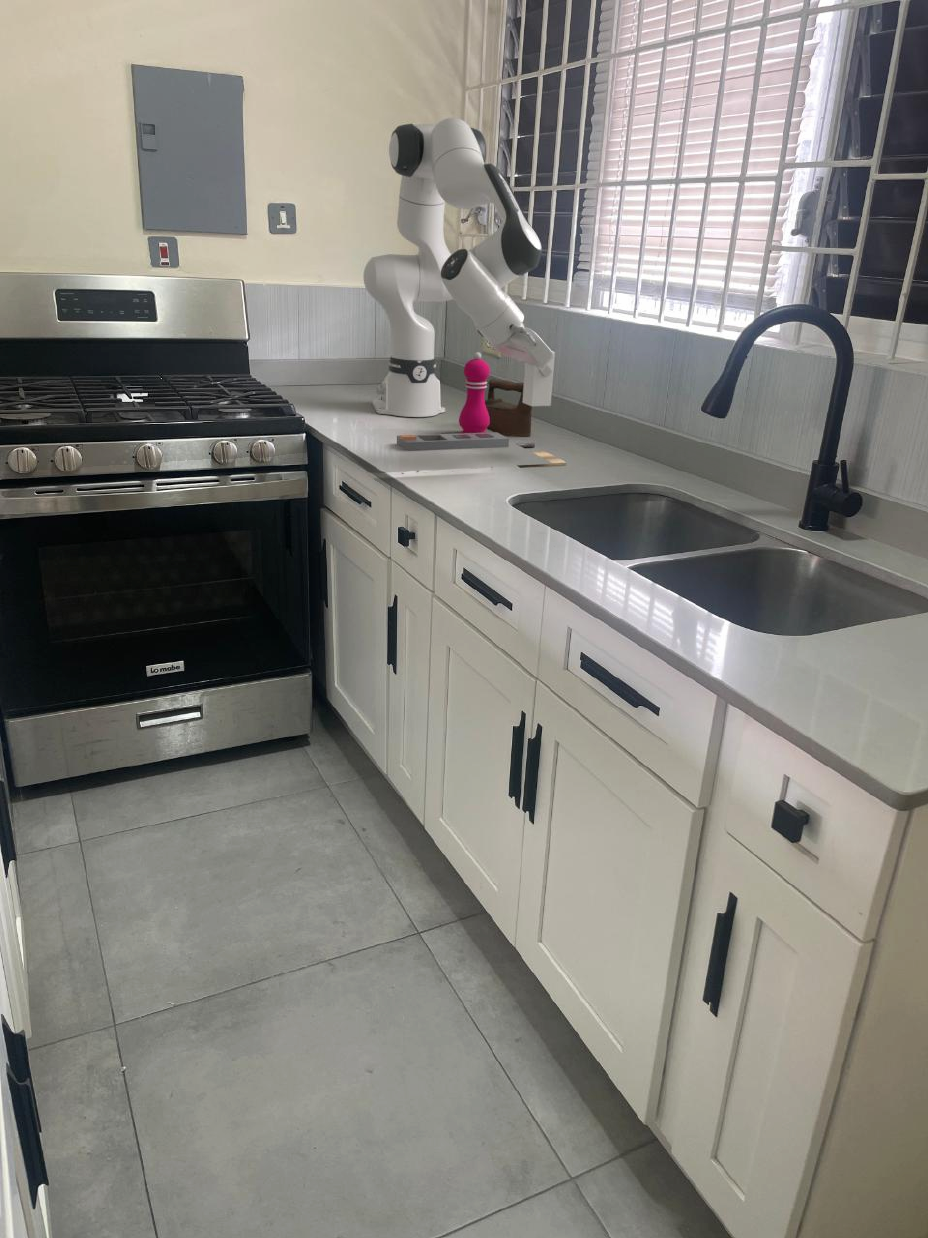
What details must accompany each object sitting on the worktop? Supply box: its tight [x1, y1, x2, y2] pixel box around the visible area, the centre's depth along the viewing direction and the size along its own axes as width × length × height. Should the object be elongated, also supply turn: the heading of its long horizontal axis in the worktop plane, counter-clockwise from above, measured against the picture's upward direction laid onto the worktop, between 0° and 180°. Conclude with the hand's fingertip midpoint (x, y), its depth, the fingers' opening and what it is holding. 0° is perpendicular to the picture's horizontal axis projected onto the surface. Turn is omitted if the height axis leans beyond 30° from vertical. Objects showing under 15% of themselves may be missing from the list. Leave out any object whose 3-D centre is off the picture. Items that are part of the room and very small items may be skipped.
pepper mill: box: [458, 351, 491, 434], centre depth 216 cm, size 7×7×20 cm
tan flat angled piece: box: [516, 450, 568, 468], centre depth 203 cm, size 11×11×1 cm
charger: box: [522, 350, 556, 407], centre depth 196 cm, size 4×4×11 cm
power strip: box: [396, 431, 536, 452], centre depth 209 cm, size 7×32×4 cm, turn 111°
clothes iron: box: [484, 378, 533, 438], centre depth 226 cm, size 8×16×13 cm, turn 51°
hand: (541, 372), depth 196 cm, fingers closed on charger, 4 cm apart
